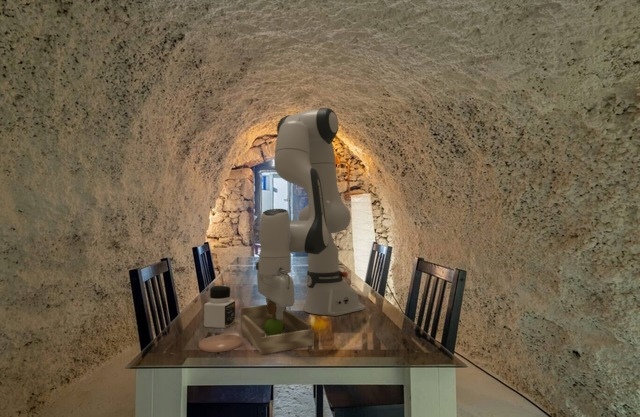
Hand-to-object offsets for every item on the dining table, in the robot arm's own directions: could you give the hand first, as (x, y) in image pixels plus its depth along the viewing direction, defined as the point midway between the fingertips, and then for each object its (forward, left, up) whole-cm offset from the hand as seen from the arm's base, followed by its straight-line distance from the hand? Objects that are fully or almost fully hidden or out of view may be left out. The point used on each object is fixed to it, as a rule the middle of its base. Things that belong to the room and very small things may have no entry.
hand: (275, 315), depth 99 cm
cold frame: (0, 0, -6) cm, 6 cm away
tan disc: (+15, -2, -6) cm, 16 cm away
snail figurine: (0, 0, -6) cm, 6 cm away
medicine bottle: (+11, -20, -6) cm, 24 cm away
